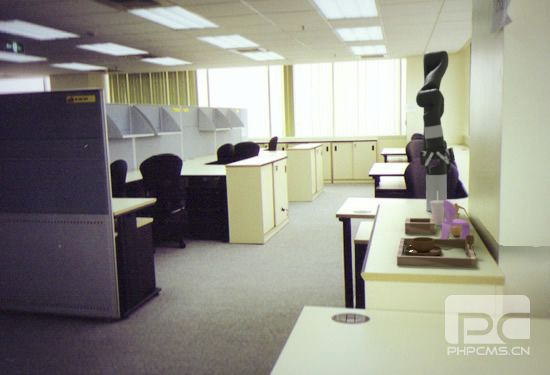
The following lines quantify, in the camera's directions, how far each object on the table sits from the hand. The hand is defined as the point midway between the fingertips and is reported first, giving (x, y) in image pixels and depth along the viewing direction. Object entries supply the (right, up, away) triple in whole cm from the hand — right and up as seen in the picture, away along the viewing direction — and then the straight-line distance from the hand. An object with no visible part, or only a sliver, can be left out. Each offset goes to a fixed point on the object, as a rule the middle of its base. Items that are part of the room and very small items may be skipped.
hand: (439, 173), depth 218 cm
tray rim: (-20, -28, -57) cm, 67 cm away
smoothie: (-4, -22, -12) cm, 25 cm away
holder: (-15, -23, -22) cm, 35 cm away
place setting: (-20, -28, -57) cm, 67 cm away
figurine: (-4, -24, -32) cm, 40 cm away
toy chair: (-8, -26, -41) cm, 49 cm away
